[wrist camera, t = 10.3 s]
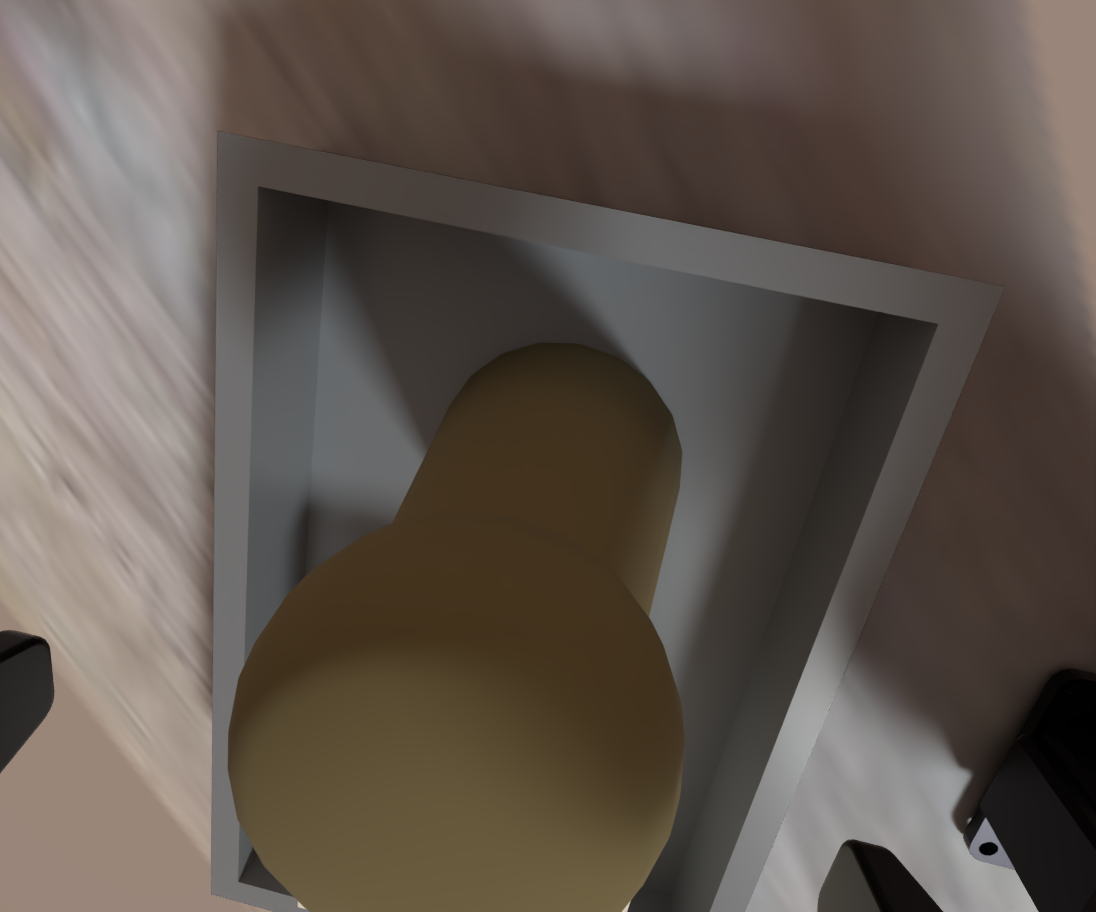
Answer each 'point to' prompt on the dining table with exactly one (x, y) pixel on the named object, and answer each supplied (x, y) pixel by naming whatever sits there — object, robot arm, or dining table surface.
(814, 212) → the dining table surface
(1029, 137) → the dining table surface
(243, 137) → the tray
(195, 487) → the dining table surface
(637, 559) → the olive tall rounded piece
